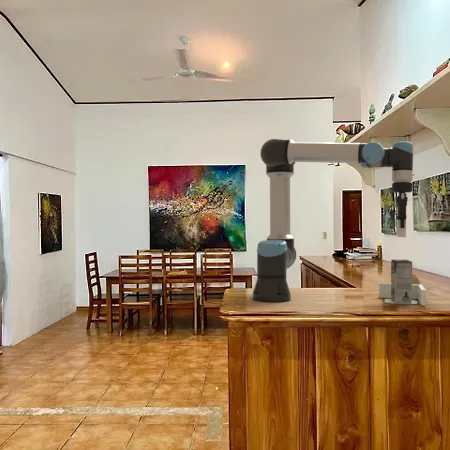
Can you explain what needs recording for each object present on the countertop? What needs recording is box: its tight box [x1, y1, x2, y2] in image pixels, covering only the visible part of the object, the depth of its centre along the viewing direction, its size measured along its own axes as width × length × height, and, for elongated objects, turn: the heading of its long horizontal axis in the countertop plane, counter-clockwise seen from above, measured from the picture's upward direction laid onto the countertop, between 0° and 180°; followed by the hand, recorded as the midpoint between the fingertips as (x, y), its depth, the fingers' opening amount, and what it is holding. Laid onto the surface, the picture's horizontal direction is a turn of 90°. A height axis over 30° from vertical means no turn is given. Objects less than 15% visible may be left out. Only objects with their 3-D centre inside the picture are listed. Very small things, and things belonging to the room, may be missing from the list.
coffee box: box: [390, 259, 413, 303], centre depth 187 cm, size 9×6×16 cm
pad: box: [384, 298, 418, 305], centre depth 188 cm, size 12×9×1 cm
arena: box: [378, 282, 427, 306], centre depth 190 cm, size 16×18×6 cm
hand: (401, 236), depth 188 cm, fingers open, 13 cm apart
